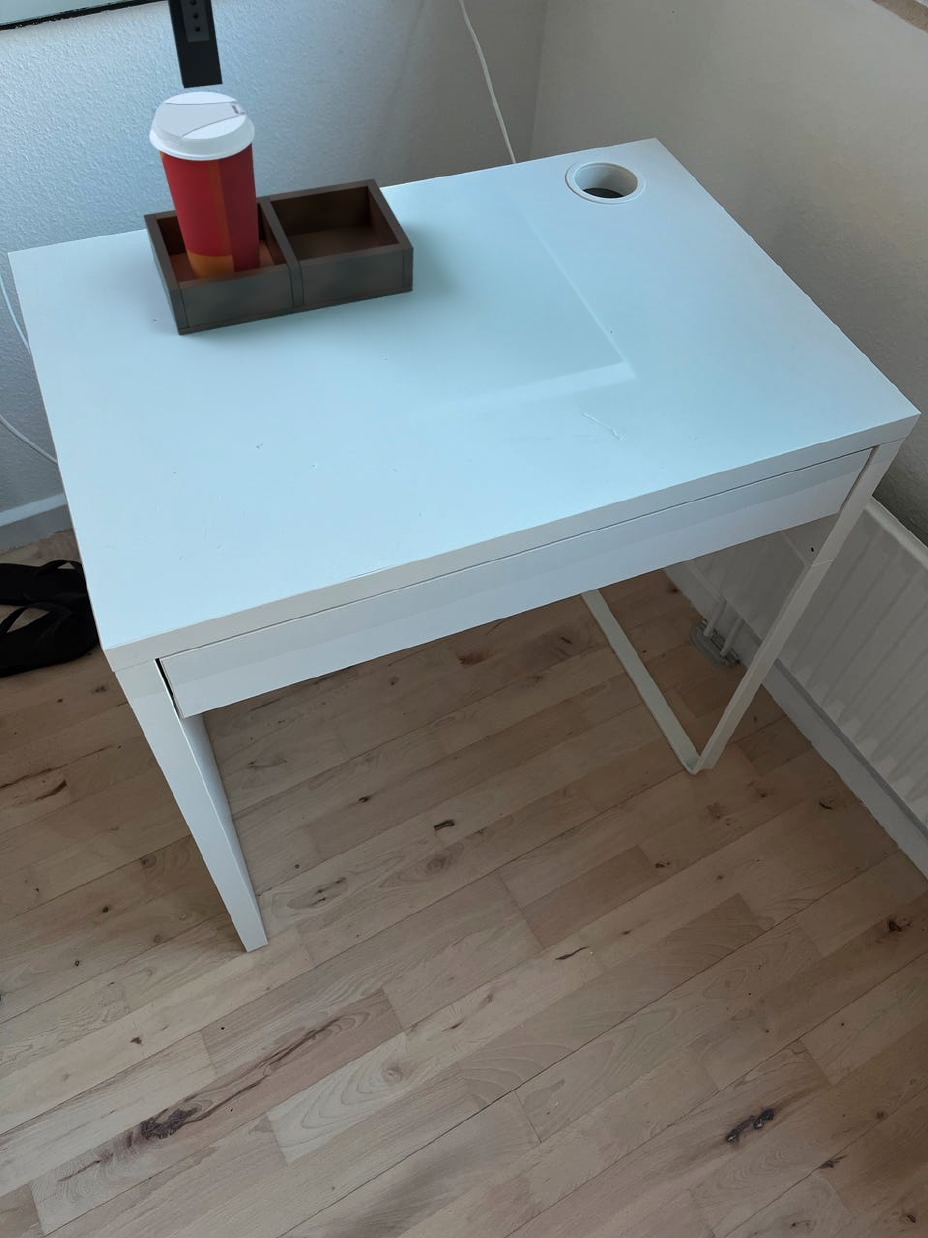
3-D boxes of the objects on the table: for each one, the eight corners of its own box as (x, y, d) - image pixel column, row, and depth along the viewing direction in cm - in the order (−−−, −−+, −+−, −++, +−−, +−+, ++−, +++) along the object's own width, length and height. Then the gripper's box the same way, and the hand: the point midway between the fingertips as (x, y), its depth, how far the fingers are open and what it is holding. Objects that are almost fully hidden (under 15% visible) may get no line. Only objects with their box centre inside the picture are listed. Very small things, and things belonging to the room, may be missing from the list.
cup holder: (178, 335, 83) (168, 291, 79) (153, 258, 89) (143, 214, 85) (412, 290, 89) (413, 247, 85) (374, 221, 94) (374, 177, 91)
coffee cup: (257, 242, 90) (234, 80, 78) (285, 293, 86) (266, 131, 74) (170, 260, 88) (133, 97, 75) (195, 314, 84) (160, 150, 71)
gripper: (233, -311, 47) (275, 117, 64) (140, -419, 59) (196, -37, 77) (77, -310, 45) (164, 131, 62) (16, -422, 58) (102, -29, 75)
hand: (182, 39), depth 70 cm, fingers open, 13 cm apart
